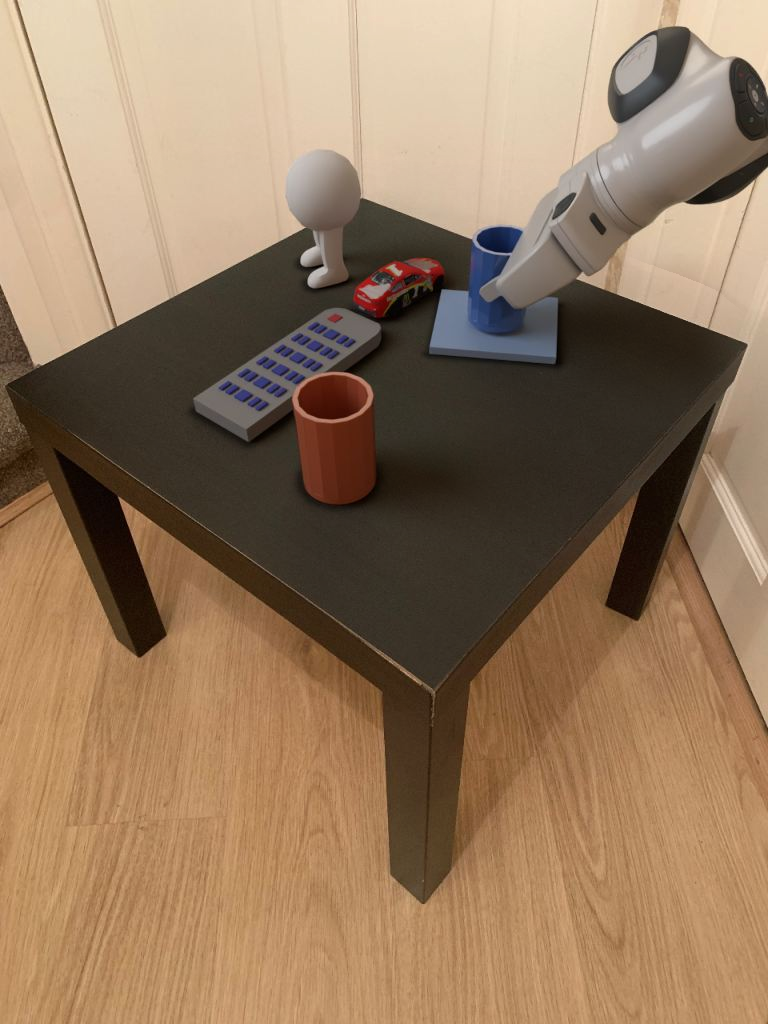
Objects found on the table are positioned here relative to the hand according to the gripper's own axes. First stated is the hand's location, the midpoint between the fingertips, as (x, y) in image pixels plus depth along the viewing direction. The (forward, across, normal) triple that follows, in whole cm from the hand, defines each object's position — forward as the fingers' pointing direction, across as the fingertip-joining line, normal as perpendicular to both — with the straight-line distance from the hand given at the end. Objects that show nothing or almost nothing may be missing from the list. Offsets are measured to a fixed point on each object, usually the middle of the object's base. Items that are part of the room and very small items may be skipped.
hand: (494, 275), depth 88 cm
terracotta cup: (+10, +29, 0) cm, 31 cm away
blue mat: (+4, 0, +5) cm, 7 cm away
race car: (+13, -3, -4) cm, 14 cm away
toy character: (+21, -6, -11) cm, 24 cm away
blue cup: (+3, 0, +4) cm, 5 cm away
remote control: (+17, +16, -7) cm, 25 cm away
